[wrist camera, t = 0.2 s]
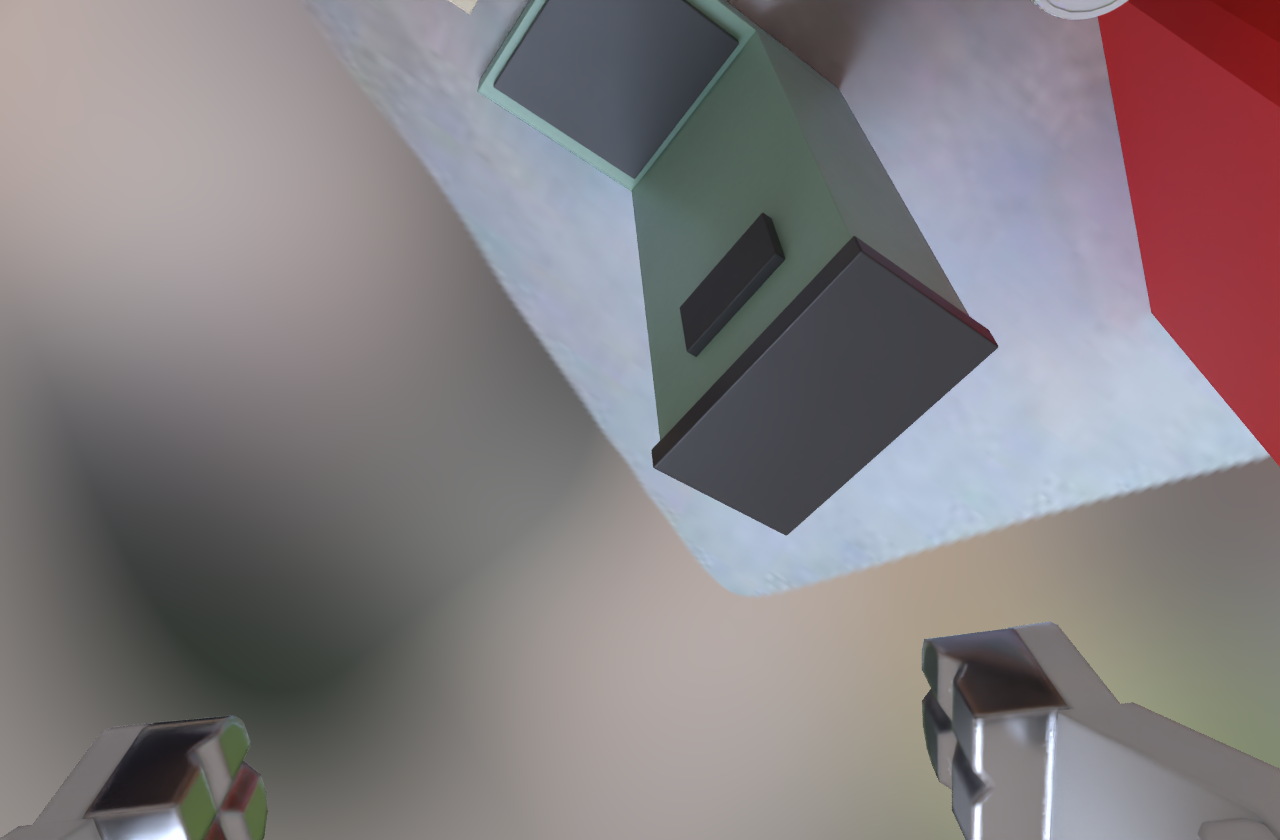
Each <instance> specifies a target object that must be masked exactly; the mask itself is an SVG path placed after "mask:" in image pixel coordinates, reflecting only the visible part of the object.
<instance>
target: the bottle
mask: <svg viewBox="0 0 1280 840" xmlns="http://www.w3.org/2000/svg"><path fill="white" fill-rule="evenodd" d="M1031 1H1032V2H1033V3H1034V4H1035V5H1036V6H1038V7H1039V8H1040V9H1042V10H1043V11H1044V12H1046V13H1049V14H1050V15H1052V16H1054V15H1055V16H1056V17H1058V18H1064V19H1070V20H1082V19H1089V18H1094V17H1097V16H1100V15H1103V14H1106V13H1108V12H1110V11H1112V10H1114V9H1116V8H1118V7H1119V6H1121V5H1122V4H1124V3H1125V2H1127V1H1128V0H1031Z"/></svg>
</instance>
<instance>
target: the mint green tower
mask: <svg viewBox="0 0 1280 840" xmlns="http://www.w3.org/2000/svg"><path fill="white" fill-rule="evenodd" d="M478 92H479V93H480V94H482V95H484V96H485V97H487V98H488V99H490V100H491V101H493V102H494V103H496V104H497V105H499V106H501V107H502V108H504V109H505V110H507V111H508V112H510V113H511V114H513V115H514V116H516V117H518V118H519V119H521V120H522V121H524V122H525V123H527V124H528V125H530V126H531V127H533V128H535V129H536V130H538V131H539V132H541V133H542V134H544V135H545V136H547V137H548V138H550V139H552V140H553V141H555V142H556V143H558V144H559V145H561V146H562V147H564V148H565V149H567V150H569V151H570V152H572V153H573V154H575V155H576V156H578V157H579V158H581V159H582V160H584V161H586V162H587V163H589V164H590V165H592V166H593V167H595V168H596V169H598V170H599V171H601V172H603V173H604V174H606V175H607V176H609V177H610V178H612V179H613V180H615V181H616V182H618V183H620V184H621V185H623V186H624V187H626V188H627V189H629V190H630V191H632V198H633V206H634V215H635V224H636V233H637V241H638V250H639V259H640V267H641V276H642V285H643V294H644V302H645V311H646V320H647V329H648V337H649V346H650V355H651V364H652V372H653V381H654V390H655V399H656V407H657V416H658V425H659V434H660V442H659V443H658V444H657V445H656V446H655V447H654V448H653V449H652V459H653V467H654V468H655V469H657V470H659V471H661V472H663V473H665V474H667V475H668V476H670V477H672V478H674V479H676V480H678V481H680V482H682V483H684V484H686V485H688V486H690V487H692V488H694V489H696V490H698V491H700V492H702V493H704V494H706V495H708V496H710V497H712V498H714V499H716V500H717V501H719V502H721V503H723V504H725V505H727V506H729V507H731V508H733V509H735V510H737V511H739V512H741V513H743V514H745V515H747V516H749V517H751V518H753V519H755V520H757V521H759V522H761V523H763V524H765V525H766V526H768V527H770V528H772V529H774V530H776V531H778V532H780V533H782V534H784V535H788V534H789V533H790V532H791V531H792V530H794V529H795V528H796V527H797V526H798V525H799V524H800V523H801V522H803V521H804V520H805V519H806V518H807V517H808V516H809V515H810V514H812V513H813V512H814V511H815V510H816V509H817V508H818V507H819V506H821V505H822V504H823V503H824V502H825V501H826V500H827V499H828V498H830V497H831V496H832V495H833V494H834V493H835V492H836V491H837V490H839V489H840V488H841V487H842V486H843V485H844V484H845V483H846V482H848V481H849V480H850V479H851V478H852V477H853V476H854V475H855V474H857V473H858V472H859V471H860V470H861V469H862V468H863V467H864V466H865V465H867V464H868V463H869V462H870V461H871V460H872V459H873V458H874V457H876V456H877V455H878V454H879V453H880V452H881V451H882V450H883V449H885V448H886V447H887V446H888V445H889V444H890V443H891V442H892V441H894V440H895V439H896V438H897V437H898V436H899V435H900V434H901V433H903V432H904V431H905V430H906V429H907V428H908V427H909V426H910V425H912V424H913V423H914V422H915V421H916V420H917V419H918V418H919V417H921V416H922V415H923V414H924V413H925V412H926V411H927V410H928V409H930V408H931V407H932V406H933V405H934V404H935V403H936V402H937V401H939V400H940V399H941V398H942V397H943V396H944V395H945V394H946V393H947V392H949V391H950V390H951V389H952V388H953V387H954V386H955V385H956V384H958V383H959V382H960V381H961V380H962V379H963V378H964V377H965V376H967V375H968V374H969V373H970V372H971V371H972V370H973V369H974V368H976V367H977V366H978V365H979V364H980V363H981V362H982V361H983V360H985V359H986V358H987V357H988V356H989V355H990V354H991V353H992V352H994V351H995V350H996V349H997V348H998V345H997V343H996V341H995V340H994V338H993V336H992V335H991V333H990V331H989V330H988V329H986V328H985V327H984V326H982V325H981V324H979V323H978V322H977V321H975V320H974V319H972V318H971V317H969V315H968V313H967V311H966V310H965V308H964V306H963V304H962V303H961V301H960V299H959V297H958V296H957V294H956V292H955V290H954V289H953V287H952V285H951V283H950V282H949V280H948V278H947V276H946V275H945V273H944V271H943V269H942V268H941V266H940V264H939V262H938V261H937V259H936V257H935V256H934V254H933V252H932V250H931V249H930V247H929V245H928V243H927V242H926V240H925V238H924V236H923V235H922V233H921V231H920V229H919V228H918V226H917V224H916V222H915V221H914V219H913V217H912V215H911V214H910V212H909V210H908V208H907V207H906V205H905V203H904V201H903V200H902V198H901V196H900V195H899V193H898V191H897V189H896V188H895V186H894V184H893V182H892V181H891V179H890V177H889V175H888V174H887V172H886V170H885V168H884V167H883V165H882V163H881V161H880V160H879V158H878V156H877V154H876V153H875V151H874V149H873V147H872V146H871V144H870V142H869V140H868V139H867V137H866V135H865V134H864V132H863V130H862V128H861V127H860V125H859V123H858V121H857V120H856V118H855V116H854V114H853V113H852V111H851V109H850V107H849V106H848V104H847V102H846V100H845V99H844V97H843V95H842V93H841V92H840V90H839V89H838V88H837V87H836V86H834V85H833V84H832V83H830V82H829V81H828V80H827V79H825V78H824V77H823V76H821V75H820V74H819V73H818V72H816V71H815V70H814V69H813V68H811V67H810V66H809V65H807V64H806V63H805V62H804V61H802V60H801V59H800V58H798V57H797V56H796V55H795V54H793V53H792V52H791V51H790V50H788V49H787V48H786V47H784V46H783V45H782V44H781V43H779V42H778V41H777V40H775V39H774V38H773V37H772V36H770V35H769V34H768V33H767V32H765V31H764V30H763V29H761V28H760V27H759V26H758V25H756V24H755V23H754V22H752V21H751V20H750V19H749V18H747V17H746V16H745V15H744V14H742V13H741V12H740V11H738V10H737V9H736V8H735V7H733V6H732V5H731V4H729V3H728V2H727V1H726V0H530V1H529V3H528V4H527V6H526V8H525V9H524V11H523V12H522V14H521V16H520V17H519V19H518V20H517V22H516V23H515V25H514V27H513V28H512V30H511V31H510V33H509V35H508V36H507V38H506V39H505V41H504V43H503V44H502V46H501V47H500V49H499V50H498V52H497V54H496V55H495V57H494V58H493V60H492V62H491V63H490V65H489V66H488V68H487V70H486V71H485V73H484V74H483V76H482V77H481V79H480V81H479V85H478Z"/></svg>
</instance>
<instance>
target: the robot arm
mask: <svg viewBox="0 0 1280 840" xmlns="http://www.w3.org/2000/svg"><path fill="white" fill-rule="evenodd" d="M922 671H923V673H924V675H925V677H926V679H927V681H928V683H929V685H930V687H931V689H930V691H929V692H928V693H927V695H926V696H925V698H924V699H923V700H922V713H923V728H924V734H925V740H926V746H927V750H928V754H929V757H930V760H931V763H932V766H933V769H934V771H935V773H936V776H937V778H938V780H939V782H940V783H942V784H944V785H945V786H947V787H948V788H950V789H952V811H953V814H954V815H955V817H956V820H957V822H958V824H959V826H960V829H961V831H962V833H963V835H964V837H965V840H1280V769H1279V768H1277V767H1274V766H1272V765H1270V764H1268V763H1266V762H1264V761H1261V760H1259V759H1257V758H1255V757H1252V756H1250V755H1248V754H1246V753H1244V752H1241V751H1239V750H1237V749H1235V748H1233V747H1230V746H1228V745H1226V744H1224V743H1222V742H1219V741H1217V740H1215V739H1213V738H1210V737H1208V736H1206V735H1204V734H1202V733H1199V732H1197V731H1195V730H1193V729H1191V728H1188V727H1186V726H1184V725H1182V724H1180V723H1177V722H1175V721H1173V720H1171V719H1168V718H1166V717H1164V716H1162V715H1160V714H1157V713H1155V712H1153V711H1151V710H1149V709H1146V708H1144V707H1142V706H1140V705H1138V704H1135V703H1125V704H1120V703H1119V702H1118V700H1117V699H1116V698H1115V697H1114V695H1113V694H1112V693H1111V691H1110V690H1109V689H1108V688H1107V686H1106V685H1105V684H1104V683H1103V681H1102V680H1101V679H1100V678H1099V677H1098V675H1097V674H1096V673H1095V671H1094V670H1093V669H1092V668H1091V667H1090V665H1089V664H1088V663H1087V661H1086V660H1085V659H1084V658H1083V656H1082V655H1081V654H1080V653H1079V651H1078V650H1077V649H1076V647H1075V646H1074V645H1073V644H1072V642H1071V641H1070V640H1069V639H1068V637H1067V636H1066V635H1065V634H1064V632H1063V631H1062V630H1061V629H1060V627H1059V626H1058V625H1056V624H1054V623H1052V622H1044V623H1037V624H1030V625H1023V626H1016V627H1009V628H1008V629H1001V630H994V631H985V632H977V633H970V634H962V635H954V636H946V637H939V638H930V639H924V642H923V648H922ZM250 745H251V742H250V740H249V737H248V734H247V731H246V728H245V725H244V723H243V721H242V720H240V719H239V718H237V717H235V716H223V717H211V718H200V719H189V720H179V721H167V722H156V723H152V724H148V723H146V724H136V725H128V726H119V727H112V728H110V729H107V730H105V731H103V732H101V733H100V735H99V736H98V737H97V738H96V740H95V741H94V742H93V744H92V745H91V746H90V748H89V749H88V750H87V752H86V753H85V755H84V756H83V757H82V759H81V760H80V761H79V762H78V764H77V765H76V767H75V768H74V769H73V771H72V772H71V773H70V775H69V776H68V777H67V779H66V780H65V781H64V783H63V784H62V785H61V787H60V788H59V789H58V791H57V792H56V793H55V795H54V796H53V798H52V799H51V800H50V802H49V803H48V804H47V806H46V807H45V808H44V810H43V811H42V813H41V814H40V815H39V817H38V818H37V819H36V821H35V822H34V823H33V824H32V825H26V826H19V827H17V828H15V829H14V830H12V831H11V832H9V833H8V834H6V835H4V836H3V837H1V838H0V840H263V839H264V835H265V827H266V820H267V813H268V810H267V800H266V791H265V788H264V784H263V781H262V778H261V775H260V774H259V773H258V772H257V771H256V770H254V769H253V768H252V767H250V766H249V765H248V764H247V763H245V762H244V761H243V759H244V757H245V755H246V753H247V751H248V749H249V747H250Z"/></svg>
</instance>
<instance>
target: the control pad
mask: <svg viewBox="0 0 1280 840" xmlns="http://www.w3.org/2000/svg"><path fill="white" fill-rule="evenodd" d="M449 1H450V2H452V3H453V4H455V5H456V6H457V7H459V8H460V9H462V10H463V11H465V12H466V13H468V14H470V13H471V12H472V10H473V8H474V7H475V5H476V3H477V2H478V0H449Z"/></svg>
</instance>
